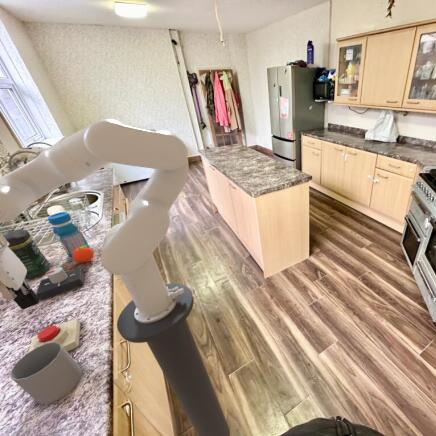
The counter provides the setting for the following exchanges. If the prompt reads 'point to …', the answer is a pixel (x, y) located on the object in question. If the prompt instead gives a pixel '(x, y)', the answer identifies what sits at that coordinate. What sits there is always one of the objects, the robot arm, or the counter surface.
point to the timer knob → (57, 275)
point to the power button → (48, 333)
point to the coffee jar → (27, 252)
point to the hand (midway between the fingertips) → (31, 304)
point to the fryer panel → (61, 284)
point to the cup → (46, 373)
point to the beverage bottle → (67, 232)
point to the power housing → (62, 336)
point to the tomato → (83, 254)
